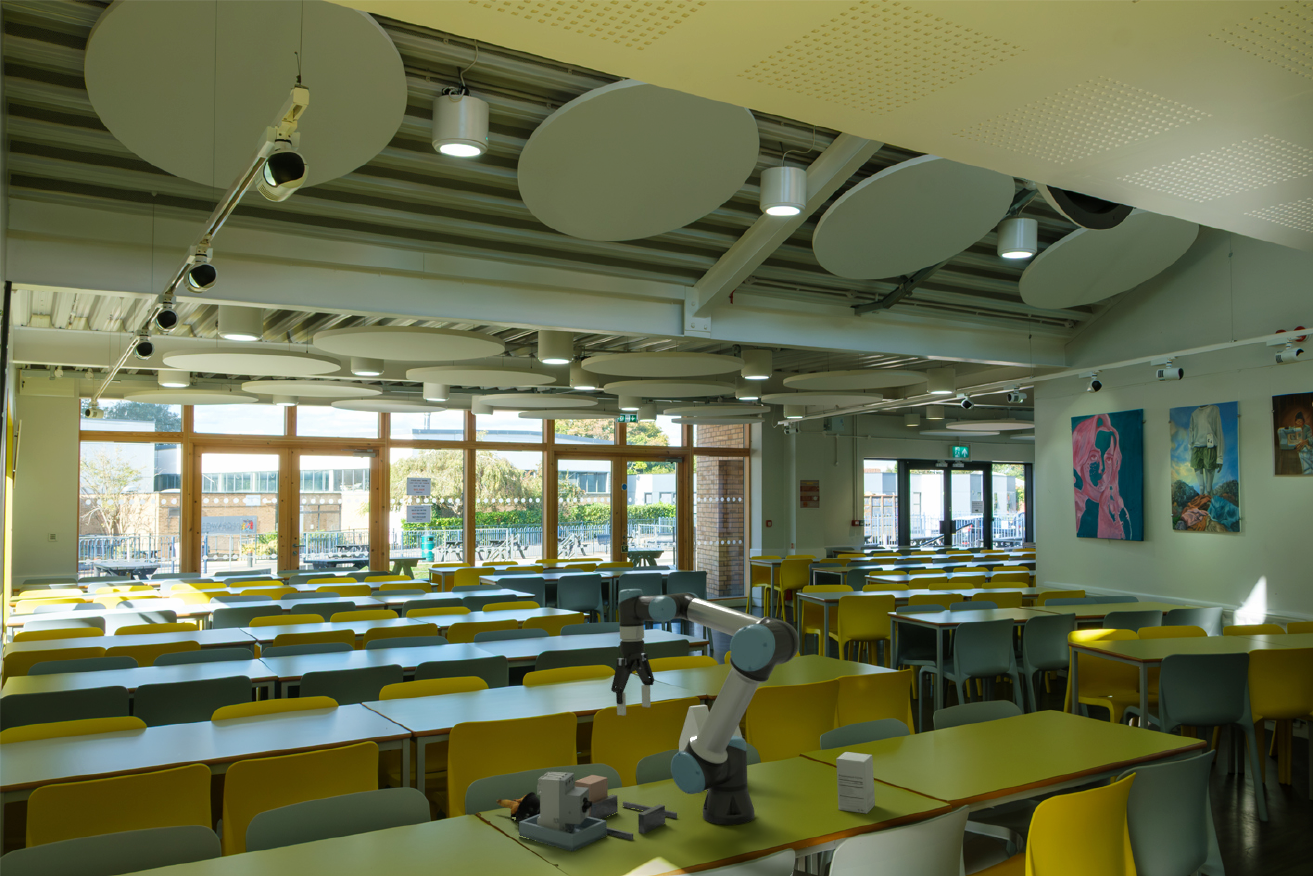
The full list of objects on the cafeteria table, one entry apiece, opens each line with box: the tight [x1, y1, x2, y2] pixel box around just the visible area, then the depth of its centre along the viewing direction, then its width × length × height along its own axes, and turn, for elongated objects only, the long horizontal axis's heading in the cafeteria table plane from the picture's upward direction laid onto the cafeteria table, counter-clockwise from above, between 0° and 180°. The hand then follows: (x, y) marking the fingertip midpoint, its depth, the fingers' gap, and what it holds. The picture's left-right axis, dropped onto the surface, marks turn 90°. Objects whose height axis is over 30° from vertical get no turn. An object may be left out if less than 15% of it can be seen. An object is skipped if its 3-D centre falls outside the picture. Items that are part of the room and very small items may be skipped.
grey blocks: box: [591, 794, 678, 841], centre depth 246 cm, size 20×22×5 cm
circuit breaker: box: [536, 771, 592, 833], centre depth 236 cm, size 8×14×15 cm, turn 75°
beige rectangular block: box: [574, 774, 609, 817], centre depth 254 cm, size 6×8×10 cm
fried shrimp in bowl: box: [496, 791, 540, 823], centre depth 250 cm, size 9×11×18 cm
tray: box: [518, 814, 608, 852], centre depth 235 cm, size 20×14×4 cm
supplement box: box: [836, 751, 876, 815], centre depth 256 cm, size 9×9×15 cm
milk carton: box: [678, 704, 743, 790], centre depth 287 cm, size 19×15×25 cm
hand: (634, 711), depth 258 cm, fingers open, 13 cm apart
